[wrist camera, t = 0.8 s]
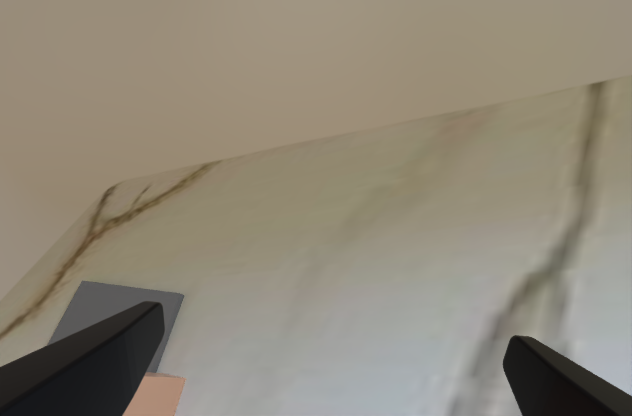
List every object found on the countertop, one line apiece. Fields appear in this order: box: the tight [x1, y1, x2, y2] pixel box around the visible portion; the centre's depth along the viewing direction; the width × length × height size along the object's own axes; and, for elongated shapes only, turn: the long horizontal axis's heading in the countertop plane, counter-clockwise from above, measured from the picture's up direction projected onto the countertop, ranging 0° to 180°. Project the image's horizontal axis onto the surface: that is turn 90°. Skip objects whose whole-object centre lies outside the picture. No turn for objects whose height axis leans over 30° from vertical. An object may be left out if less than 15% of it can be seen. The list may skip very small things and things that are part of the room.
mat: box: [48, 281, 184, 373], centre depth 21 cm, size 18×10×1 cm, turn 171°
